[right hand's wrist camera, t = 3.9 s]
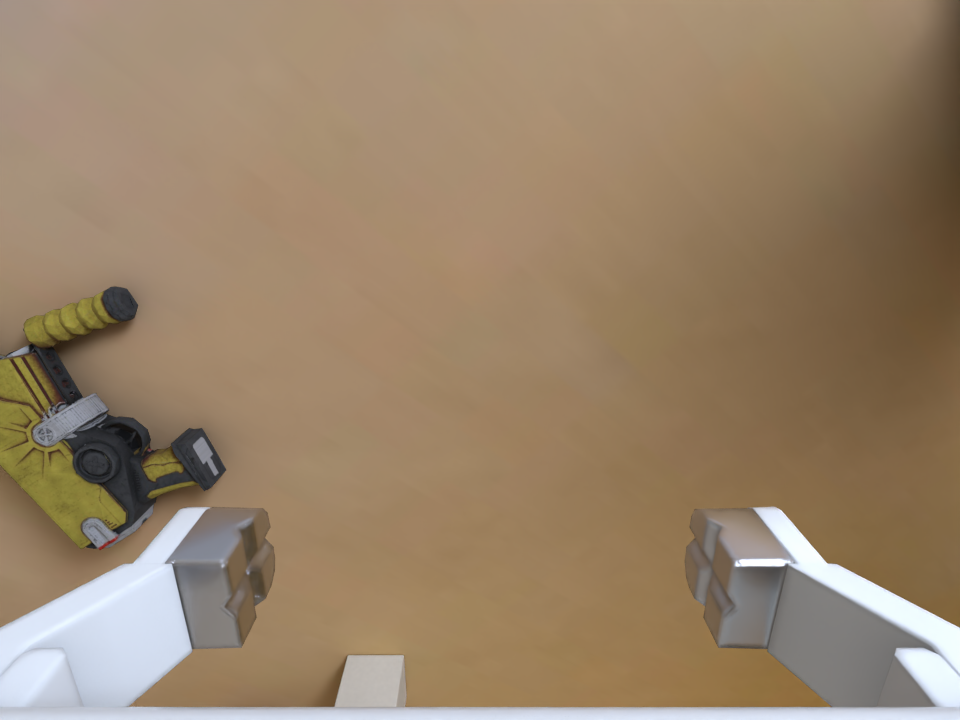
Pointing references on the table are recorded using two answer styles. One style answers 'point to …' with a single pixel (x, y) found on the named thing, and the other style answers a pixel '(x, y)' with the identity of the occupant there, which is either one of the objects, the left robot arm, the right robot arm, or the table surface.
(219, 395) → the table surface
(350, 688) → the brick
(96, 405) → the toy gun
